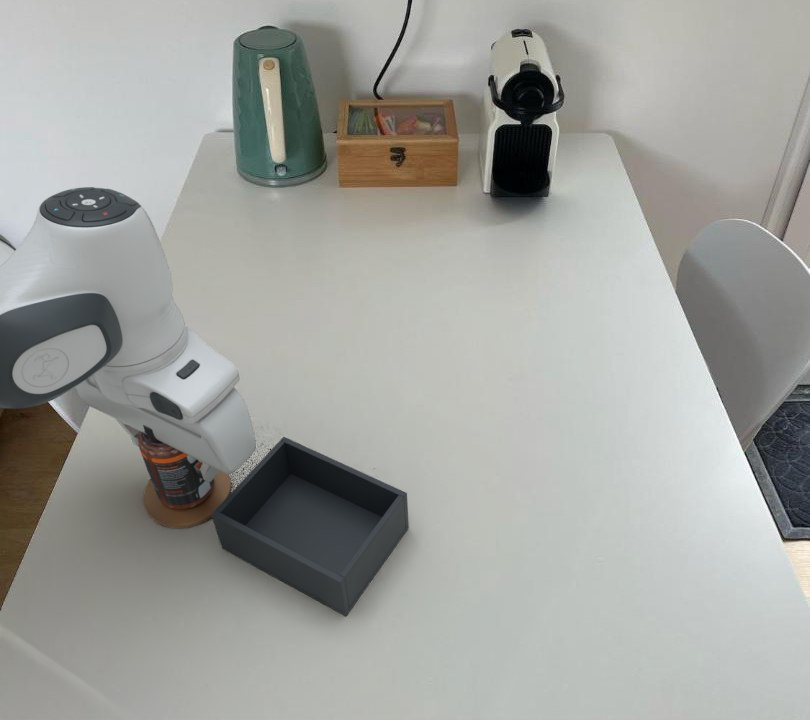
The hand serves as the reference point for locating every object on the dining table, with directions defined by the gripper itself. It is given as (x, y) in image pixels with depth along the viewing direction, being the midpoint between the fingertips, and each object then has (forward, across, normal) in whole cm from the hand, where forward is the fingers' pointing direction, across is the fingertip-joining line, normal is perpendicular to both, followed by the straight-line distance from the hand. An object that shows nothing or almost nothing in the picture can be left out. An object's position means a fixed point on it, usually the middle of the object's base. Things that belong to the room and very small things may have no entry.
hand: (176, 458), depth 81 cm
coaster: (+5, 0, 0) cm, 5 cm away
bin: (+5, +15, +2) cm, 16 cm away
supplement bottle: (+5, 0, 0) cm, 5 cm away
